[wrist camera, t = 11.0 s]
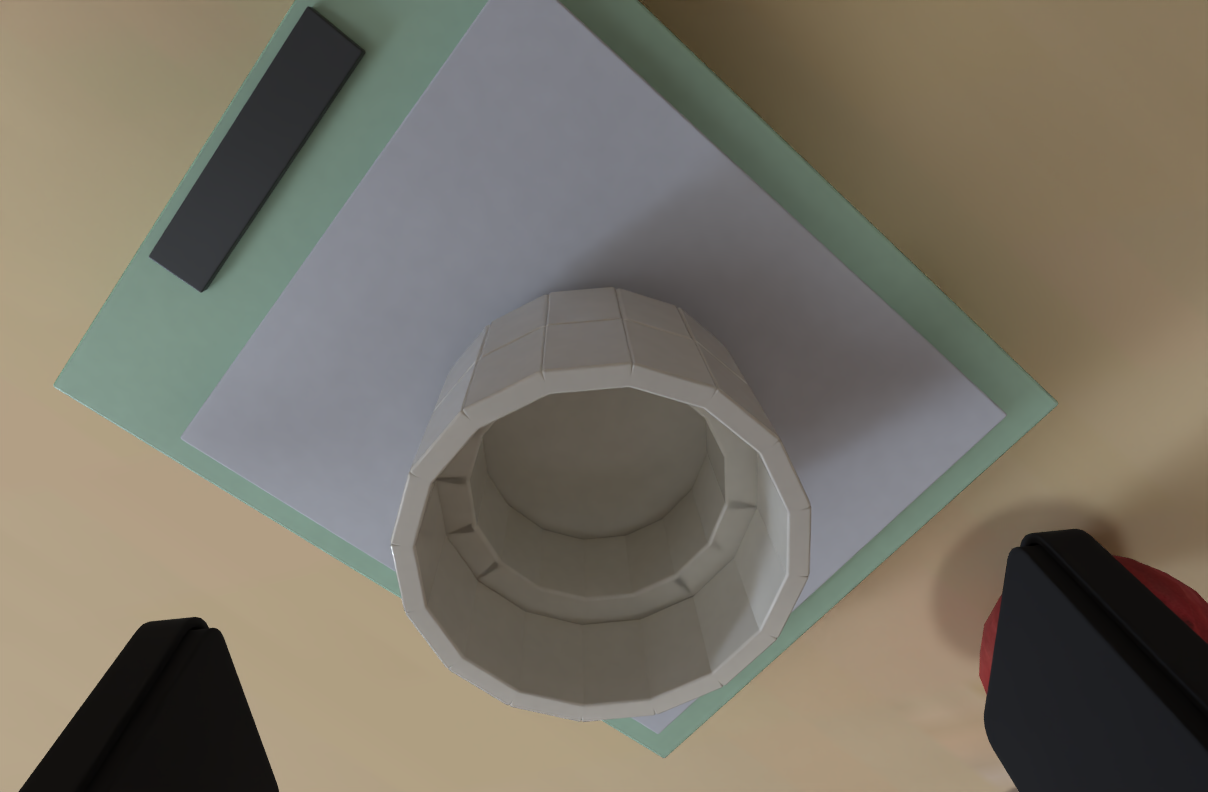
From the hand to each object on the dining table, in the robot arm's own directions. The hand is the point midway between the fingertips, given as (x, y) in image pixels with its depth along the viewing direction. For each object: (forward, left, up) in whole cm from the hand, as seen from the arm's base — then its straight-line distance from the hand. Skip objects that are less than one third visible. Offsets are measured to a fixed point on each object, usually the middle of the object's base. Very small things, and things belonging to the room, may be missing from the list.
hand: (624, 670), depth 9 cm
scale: (0, 0, -11) cm, 11 cm away
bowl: (0, -1, -8) cm, 8 cm away
